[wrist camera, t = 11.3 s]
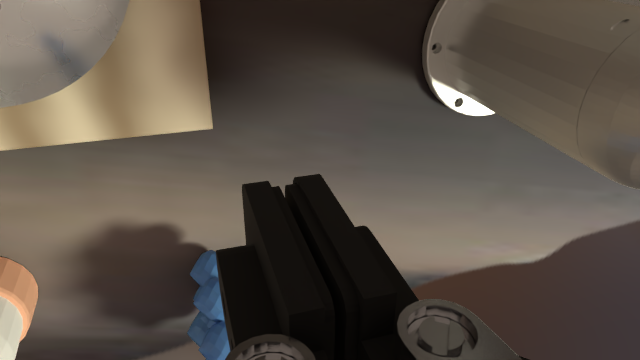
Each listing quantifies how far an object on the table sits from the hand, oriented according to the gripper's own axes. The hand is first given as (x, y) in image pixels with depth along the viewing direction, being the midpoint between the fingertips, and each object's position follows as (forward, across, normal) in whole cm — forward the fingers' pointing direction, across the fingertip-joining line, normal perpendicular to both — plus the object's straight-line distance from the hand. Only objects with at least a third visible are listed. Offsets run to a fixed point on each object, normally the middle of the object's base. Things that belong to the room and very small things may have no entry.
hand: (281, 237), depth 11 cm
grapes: (+27, 0, +23) cm, 36 cm away
